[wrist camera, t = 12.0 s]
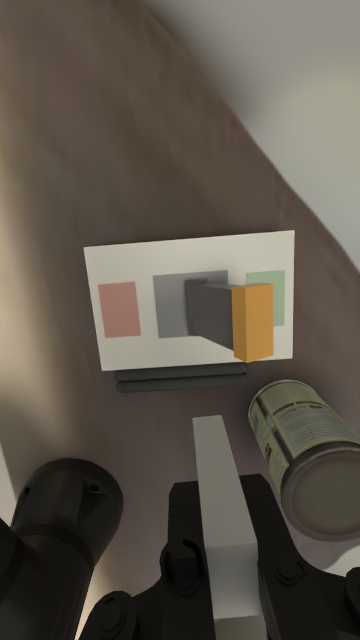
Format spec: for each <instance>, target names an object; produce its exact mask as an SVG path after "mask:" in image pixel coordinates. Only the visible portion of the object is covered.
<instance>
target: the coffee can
mask: <svg viewBox="0 0 360 640" xmlns="http://www.w3.org/2000/svg"><path fill="white" fill-rule="evenodd" d="M248 418H249V423H250V426H251V428H252V430H253V432H254V434H255V437H256V439H257V442H258V444H259V447H260V449H261V452H262V454H263V456H264V459H265V461H266V464H267V466H268V469H269V471H270V474H271V476H272V479H273V481H274V484H275V486H276V489H277V491H278V493H279V496H280V498H281V503H282V507H283V510H284V513H285V515H286V517H287V519H288V520H289V522H290V523H291V524H292V526H293V527H294V528H295V529H296V530H298V531H299V532H300V533H302V534H303V535H305V536H307V537H310V538H313V539H316V540H320V541H326V542H342V541H348V540H352V539H355V538H358V537H360V437H359V436H358V435H357V434H356V433H355V432H354V431H353V430H352V429H351V428H350V427H349V426H348V425H347V424H346V423H345V422H344V421H343V420H342V419H341V418H340V417H339V416H338V415H337V414H336V413H335V412H334V411H333V410H332V409H331V408H330V407H329V406H328V405H327V404H326V403H325V402H324V401H323V400H322V399H321V398H320V397H319V396H318V395H317V393H316V392H315V391H314V390H313V389H312V388H311V387H310V386H308V385H307V384H305V383H303V382H301V381H298V380H292V379H283V380H278V381H274V382H272V383H269V384H268V385H266V386H264V387H263V388H262V389H260V390H259V391H258V392H257V393H256V394H255V396H254V397H253V399H252V401H251V403H250V406H249V411H248Z"/></svg>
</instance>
